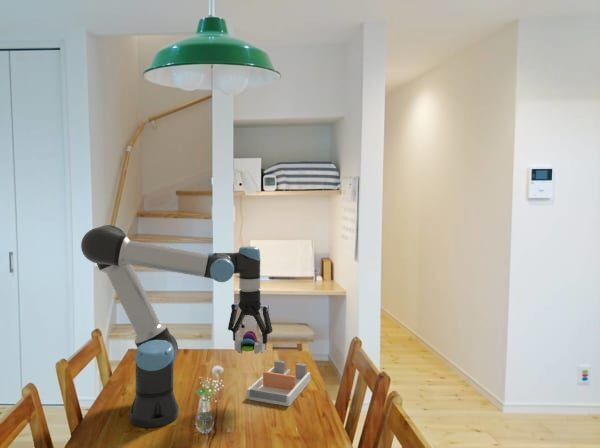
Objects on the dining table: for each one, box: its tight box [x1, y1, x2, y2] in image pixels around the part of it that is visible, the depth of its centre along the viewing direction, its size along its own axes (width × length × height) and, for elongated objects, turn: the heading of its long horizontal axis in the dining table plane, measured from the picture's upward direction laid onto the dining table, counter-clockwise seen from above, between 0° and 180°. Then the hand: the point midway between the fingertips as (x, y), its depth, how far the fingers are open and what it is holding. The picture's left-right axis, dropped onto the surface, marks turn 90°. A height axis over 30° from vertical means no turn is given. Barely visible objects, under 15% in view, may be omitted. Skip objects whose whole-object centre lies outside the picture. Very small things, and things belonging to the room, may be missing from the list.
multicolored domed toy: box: [236, 330, 260, 355], centre depth 167 cm, size 8×10×7 cm
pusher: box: [262, 368, 296, 390], centre depth 176 cm, size 11×13×5 cm
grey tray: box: [246, 359, 311, 407], centre depth 173 cm, size 24×16×6 cm, turn 161°
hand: (250, 350), depth 167 cm, fingers closed on multicolored domed toy, 9 cm apart
